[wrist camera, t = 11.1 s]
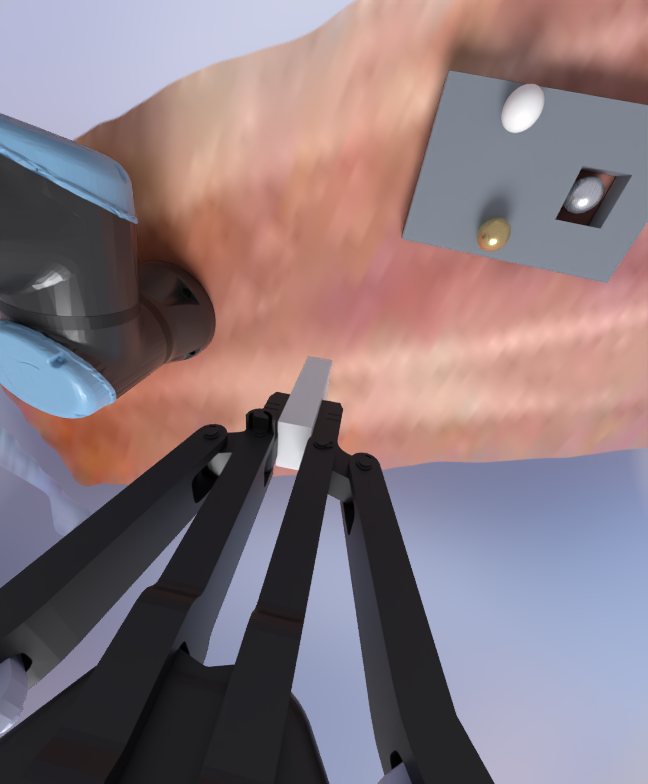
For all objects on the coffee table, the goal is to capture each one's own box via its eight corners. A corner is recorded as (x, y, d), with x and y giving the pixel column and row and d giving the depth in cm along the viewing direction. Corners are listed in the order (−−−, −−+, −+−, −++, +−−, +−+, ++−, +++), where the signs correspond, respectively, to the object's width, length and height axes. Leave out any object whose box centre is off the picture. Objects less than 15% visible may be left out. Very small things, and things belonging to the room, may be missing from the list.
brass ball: (468, 246, 35) (474, 249, 32) (481, 213, 33) (489, 214, 30) (497, 252, 35) (505, 256, 32) (511, 220, 33) (522, 221, 30)
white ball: (490, 132, 30) (500, 125, 27) (507, 87, 28) (519, 74, 25) (524, 138, 29) (537, 132, 27) (543, 93, 28) (559, 81, 25)
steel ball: (561, 209, 31) (596, 216, 31) (581, 171, 30) (618, 177, 29) (553, 210, 34) (584, 216, 33) (570, 175, 32) (604, 180, 32)
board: (401, 236, 38) (401, 238, 36) (445, 79, 30) (449, 70, 28) (594, 278, 36) (607, 282, 34) (692, 123, 29) (716, 117, 26)
